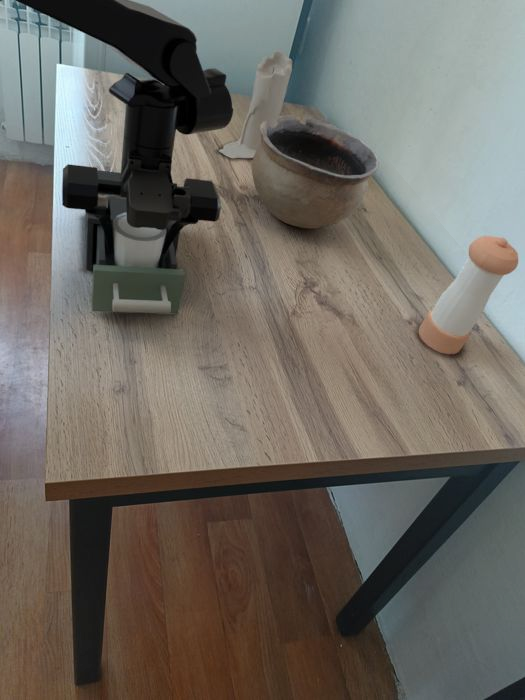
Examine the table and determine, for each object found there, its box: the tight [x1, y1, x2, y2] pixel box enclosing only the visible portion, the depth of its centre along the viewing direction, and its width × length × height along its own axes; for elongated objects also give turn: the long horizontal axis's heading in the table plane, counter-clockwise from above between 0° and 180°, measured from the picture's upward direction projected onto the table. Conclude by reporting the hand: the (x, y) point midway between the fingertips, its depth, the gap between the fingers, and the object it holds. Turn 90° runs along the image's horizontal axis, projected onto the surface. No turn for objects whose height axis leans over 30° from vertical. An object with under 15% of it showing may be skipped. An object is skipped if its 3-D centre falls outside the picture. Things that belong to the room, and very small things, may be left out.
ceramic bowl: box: [251, 114, 380, 229], centre depth 100 cm, size 22×22×15 cm
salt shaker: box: [418, 235, 519, 355], centre depth 81 cm, size 7×7×19 cm
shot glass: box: [113, 212, 167, 268], centre depth 72 cm, size 7×7×7 cm
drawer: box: [91, 224, 186, 315], centre depth 73 cm, size 17×11×7 cm, turn 14°
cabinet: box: [84, 169, 181, 271], centre depth 82 cm, size 14×13×9 cm
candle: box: [218, 49, 293, 159], centre depth 114 cm, size 7×14×20 cm, turn 138°
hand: (137, 250), depth 72 cm, fingers closed on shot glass, 6 cm apart
